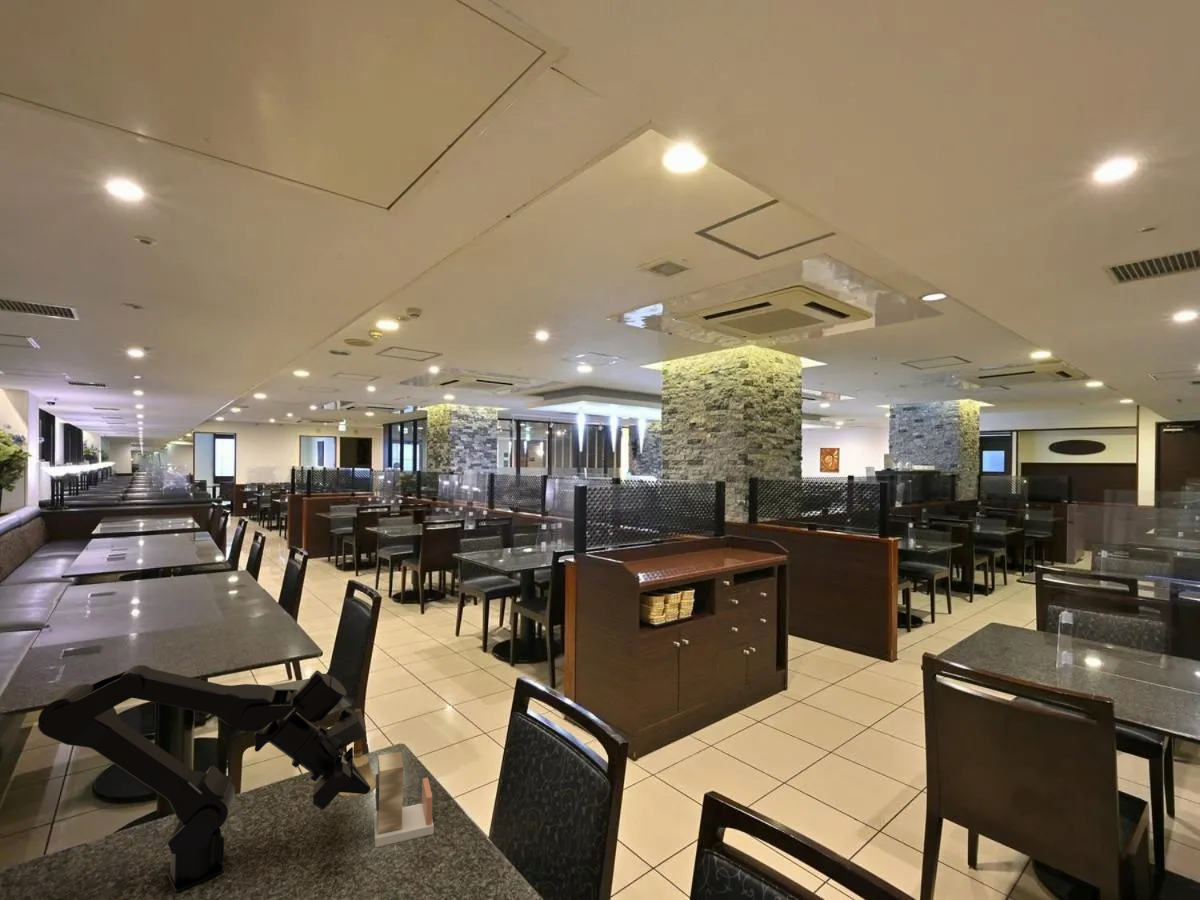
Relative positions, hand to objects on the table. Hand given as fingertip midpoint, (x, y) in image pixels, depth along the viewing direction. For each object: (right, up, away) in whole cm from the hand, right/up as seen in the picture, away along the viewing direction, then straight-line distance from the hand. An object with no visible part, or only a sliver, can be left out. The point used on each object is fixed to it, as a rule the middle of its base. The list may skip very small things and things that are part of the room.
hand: (368, 790), depth 106 cm
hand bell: (-9, -9, +16) cm, 20 cm away
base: (+6, -8, +2) cm, 10 cm away
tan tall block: (+3, -6, +1) cm, 7 cm away
